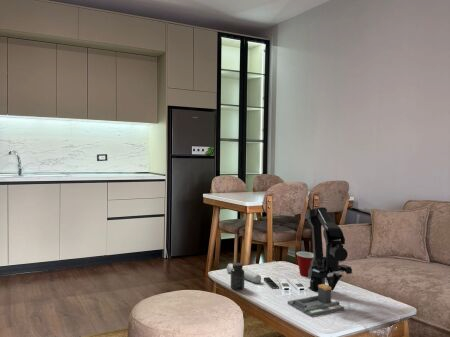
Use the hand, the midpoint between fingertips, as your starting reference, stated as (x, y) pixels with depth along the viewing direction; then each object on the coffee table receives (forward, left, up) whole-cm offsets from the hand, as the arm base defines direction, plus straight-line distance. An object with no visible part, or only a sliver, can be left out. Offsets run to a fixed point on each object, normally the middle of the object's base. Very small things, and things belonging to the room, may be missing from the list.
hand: (331, 290), depth 183 cm
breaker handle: (+4, 0, -5) cm, 6 cm away
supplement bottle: (+28, -36, -6) cm, 46 cm away
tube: (+16, -50, -6) cm, 53 cm away
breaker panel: (+9, 0, -6) cm, 11 cm away
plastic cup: (-17, -40, -6) cm, 44 cm away
